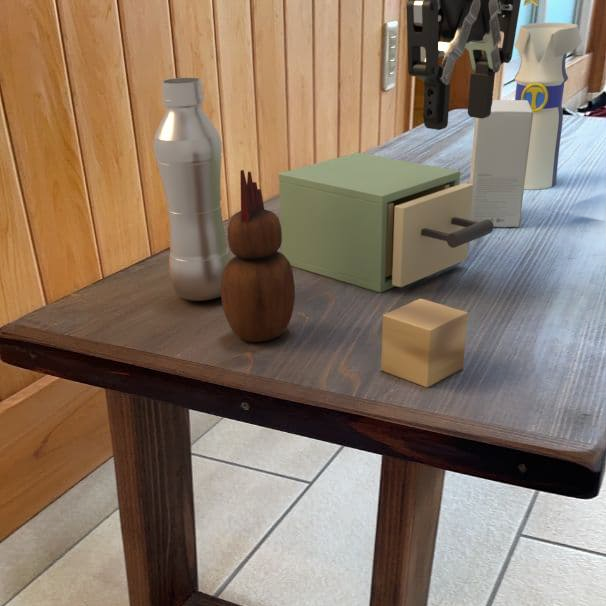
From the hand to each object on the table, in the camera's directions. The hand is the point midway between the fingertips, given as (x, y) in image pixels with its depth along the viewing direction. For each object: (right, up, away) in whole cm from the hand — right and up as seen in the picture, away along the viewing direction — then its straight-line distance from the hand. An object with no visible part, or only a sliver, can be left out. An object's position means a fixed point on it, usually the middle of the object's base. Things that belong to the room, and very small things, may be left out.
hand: (457, 121), depth 80 cm
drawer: (-4, -9, +12) cm, 16 cm away
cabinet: (-7, -8, +16) cm, 19 cm away
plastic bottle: (-25, -14, +8) cm, 30 cm away
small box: (+10, +1, +28) cm, 30 cm away
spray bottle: (+18, +12, +42) cm, 47 cm away
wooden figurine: (-19, -20, 0) cm, 27 cm away
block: (-4, -25, -7) cm, 26 cm away
